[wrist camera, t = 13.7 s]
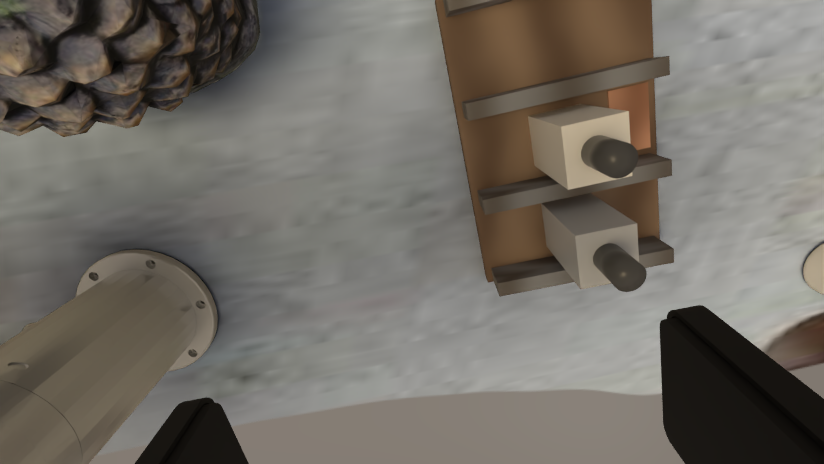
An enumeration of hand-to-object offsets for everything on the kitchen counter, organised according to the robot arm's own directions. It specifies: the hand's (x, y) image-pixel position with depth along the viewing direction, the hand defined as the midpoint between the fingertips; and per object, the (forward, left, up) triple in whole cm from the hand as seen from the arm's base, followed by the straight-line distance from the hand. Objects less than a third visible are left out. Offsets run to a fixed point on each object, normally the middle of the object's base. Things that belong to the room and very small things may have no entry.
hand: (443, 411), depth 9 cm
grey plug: (+11, -7, -27) cm, 30 cm away
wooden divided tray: (+11, 0, -28) cm, 30 cm away
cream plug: (+11, 0, -27) cm, 29 cm away
